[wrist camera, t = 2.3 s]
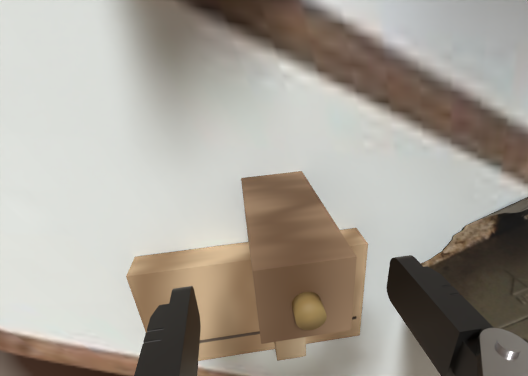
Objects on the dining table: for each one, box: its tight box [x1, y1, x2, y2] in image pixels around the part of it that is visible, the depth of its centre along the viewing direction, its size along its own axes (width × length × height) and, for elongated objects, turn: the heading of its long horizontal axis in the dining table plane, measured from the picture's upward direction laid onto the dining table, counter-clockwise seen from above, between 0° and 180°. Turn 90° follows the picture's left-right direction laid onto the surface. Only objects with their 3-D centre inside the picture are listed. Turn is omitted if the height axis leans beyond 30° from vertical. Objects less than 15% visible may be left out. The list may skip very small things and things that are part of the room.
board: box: [126, 228, 368, 361], centre depth 22 cm, size 16×9×2 cm, turn 94°
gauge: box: [241, 171, 357, 361], centre depth 17 cm, size 4×12×10 cm, turn 4°
